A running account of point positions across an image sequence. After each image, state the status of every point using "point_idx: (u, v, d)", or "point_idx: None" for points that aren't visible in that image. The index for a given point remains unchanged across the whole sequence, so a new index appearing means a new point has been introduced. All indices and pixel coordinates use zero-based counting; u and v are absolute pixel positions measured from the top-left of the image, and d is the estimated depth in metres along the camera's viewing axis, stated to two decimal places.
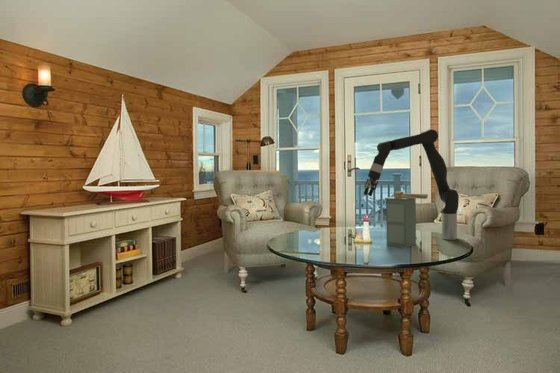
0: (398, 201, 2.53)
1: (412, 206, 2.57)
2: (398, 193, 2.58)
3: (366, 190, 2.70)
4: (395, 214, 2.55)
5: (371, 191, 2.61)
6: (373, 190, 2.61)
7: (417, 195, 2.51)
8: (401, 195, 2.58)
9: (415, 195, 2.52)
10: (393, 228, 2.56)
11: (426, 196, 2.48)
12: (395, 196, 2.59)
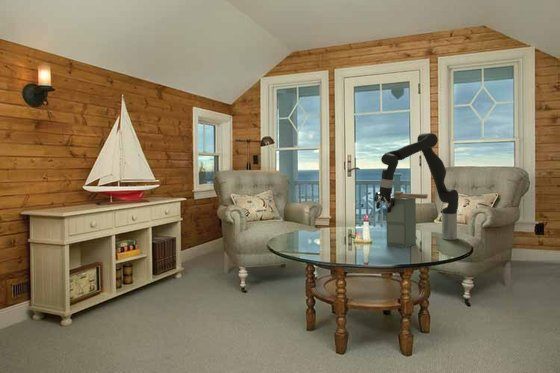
0: (398, 201, 2.53)
1: (412, 206, 2.57)
2: (398, 193, 2.58)
3: (378, 204, 2.62)
4: (395, 214, 2.55)
5: (389, 208, 2.55)
6: (391, 206, 2.56)
7: (417, 195, 2.51)
8: (401, 195, 2.58)
9: (415, 195, 2.52)
10: (393, 228, 2.56)
11: (426, 196, 2.48)
12: (395, 196, 2.59)
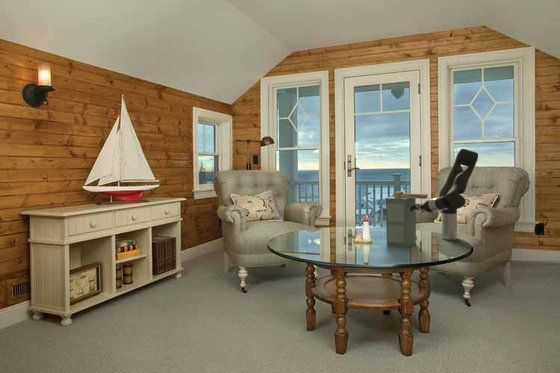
0: (398, 201, 2.53)
1: None
2: (398, 193, 2.58)
3: None
4: (395, 214, 2.55)
5: None
6: None
7: (417, 195, 2.51)
8: (401, 195, 2.58)
9: (415, 195, 2.52)
10: (393, 228, 2.56)
11: (426, 196, 2.48)
12: (395, 196, 2.59)
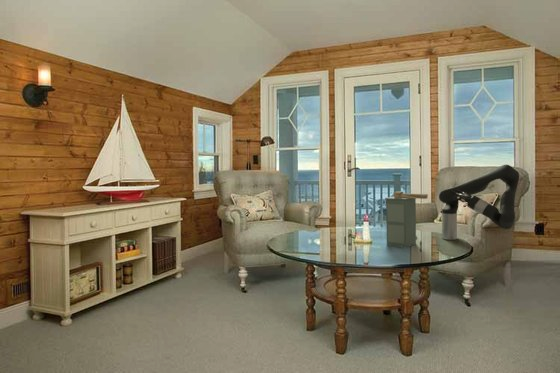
0: (398, 201, 2.53)
1: (412, 206, 2.57)
2: (398, 193, 2.58)
3: None
4: (395, 214, 2.55)
5: None
6: (462, 192, 2.43)
7: (417, 195, 2.51)
8: (401, 195, 2.58)
9: (415, 195, 2.52)
10: (393, 228, 2.56)
11: (426, 196, 2.48)
12: (395, 196, 2.59)
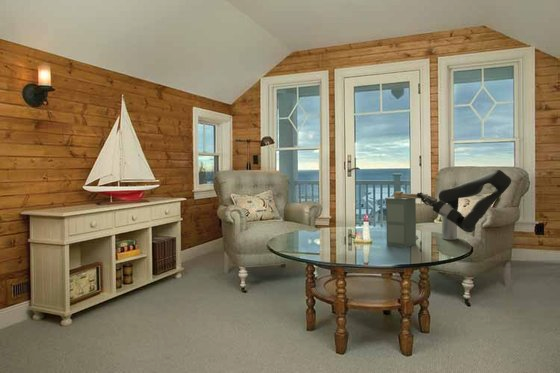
0: (398, 201, 2.53)
1: (412, 206, 2.57)
2: (398, 193, 2.58)
3: None
4: (395, 214, 2.55)
5: None
6: None
7: None
8: (401, 195, 2.58)
9: (415, 195, 2.52)
10: (393, 228, 2.56)
11: (426, 196, 2.48)
12: (395, 196, 2.59)
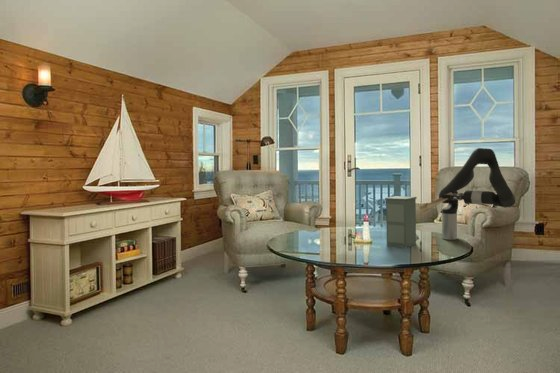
0: (398, 201, 2.53)
1: (412, 206, 2.57)
2: (424, 205, 2.47)
3: None
4: (395, 214, 2.55)
5: None
6: None
7: None
8: (428, 206, 2.47)
9: (440, 198, 2.41)
10: (393, 228, 2.56)
11: (451, 194, 2.39)
12: (422, 210, 2.48)
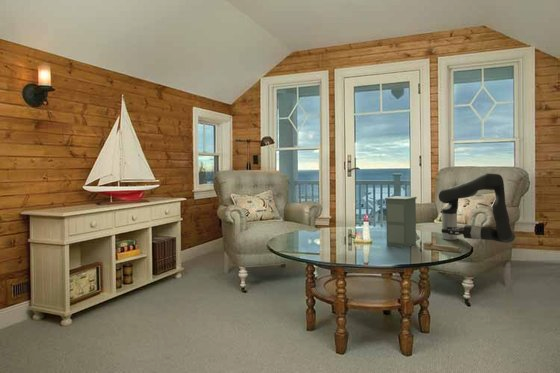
0: (398, 201, 2.53)
1: (412, 206, 2.57)
2: (428, 244, 2.47)
3: None
4: (395, 214, 2.55)
5: None
6: (454, 227, 2.44)
7: (449, 248, 2.40)
8: (431, 246, 2.47)
9: (447, 248, 2.41)
10: (393, 228, 2.56)
11: (458, 249, 2.38)
12: (425, 247, 2.49)
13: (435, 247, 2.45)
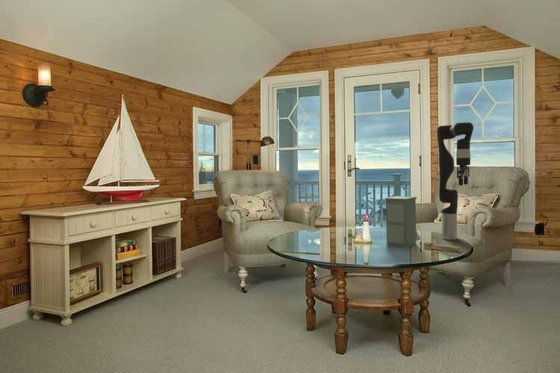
0: (398, 201, 2.53)
1: (412, 206, 2.57)
2: (428, 244, 2.47)
3: None
4: (395, 214, 2.55)
5: None
6: None
7: (449, 248, 2.40)
8: (431, 246, 2.47)
9: (447, 248, 2.41)
10: (393, 228, 2.56)
11: (459, 249, 2.38)
12: (425, 247, 2.49)
13: (435, 247, 2.45)
